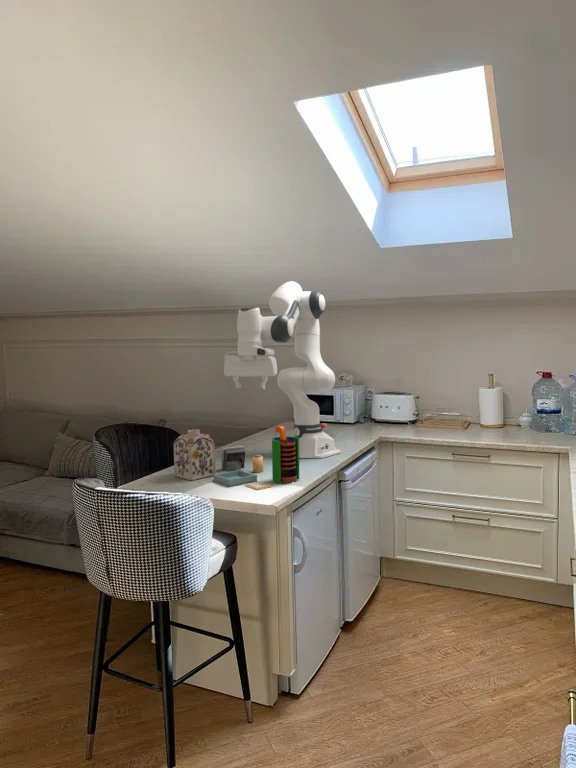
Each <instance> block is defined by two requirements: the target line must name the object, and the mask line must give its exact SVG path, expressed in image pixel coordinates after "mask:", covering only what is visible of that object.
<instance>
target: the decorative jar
mask: <svg viewBox="0 0 576 768" xmlns="http://www.w3.org/2000/svg"><path fill="white" fill-rule="evenodd" d="M215 449H216V448H215V441H214V440H213V439H212V437H211V436H210V434H207V433H201V430H200V429H189V430H187V434H181V435H179V436H178V437H177V438H176V439H175V441H174V442H173V464H174V465H173V467H174V477H175V476H177V478H179V477H180V479H183V480H186V479H187V481H190V480H191V482H192V480H193V481H196V480H201V479H206V478H210V477H214V474H217V473H216V472H217V471H216V450H215Z"/></svg>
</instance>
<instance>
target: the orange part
mask: <svg viewBox="0 0 576 768" xmlns="http://www.w3.org/2000/svg"><path fill="white" fill-rule="evenodd" d="M252 471H253V473H254V472H255V473H254V474H261V472H262V473H264V456H263V455H262V454H254V456H252Z"/></svg>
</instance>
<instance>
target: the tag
mask: <svg viewBox="0 0 576 768" xmlns="http://www.w3.org/2000/svg"><path fill="white" fill-rule="evenodd" d="M244 486H245V487H247V488H250V489H253V490H256V491H259V490H264V489H269V488H272V486H271V485H270V484H267V483H264V482H260V481H257V482H252V483H247V484H244Z"/></svg>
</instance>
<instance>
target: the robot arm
mask: <svg viewBox="0 0 576 768" xmlns="http://www.w3.org/2000/svg"><path fill="white" fill-rule="evenodd" d="M268 304H269V309H270V310H271V312H272V313H273V314H274V315H272V316H270V315H269V316H263V315H262V314H261V310H260V307H258V306H254V305H253V306H252V305H251V306H243V307H241V308H239V310H238V314H237V320H236V321H237V325H236V326H237V327H236V328H237V329H236V330H237V334H238V336H237V337H238V340H237V350H236V351H227V352H226V353H225V354H224V357H223V359H224V360H223V361H224V366H223V375H224V376H225V377H232V380H233V382H234V384H235V389H236V390H241V389H242V388H243V387H242V383H240V381H239V380H240V377H261V378H262V382H261V383H259V390H265V389H266V383H268V380H269V377H275V376H277V378H276V381H277V386H278V388H279V389H280V390H281V391H282V392H284V393H285V394H286V395H287V397H288V398H289V400H290V401H291V403H292V406H293V407H292V408H293V415H294V423H293V435H294V437H298V438H299V459H323V458H326V457H327V458H328V457H331V456H334V455H339V454H341V453H342V452H341V449H339V448H337V447H336V442H335V438H333V437H331V436H330V435H329V434H328V433H327V432H325V431H324V429H327V428H328V425H327V423H320V419H321V418H320V406H319V405H318V403H317V402H316V401H314V400H311V399H310V398H309V397H308V396H307V394H306V393H324V392H330V391H331V390H333V388H334V387H335V384H336V376H335V373H334V371H333V370H332V369H331V368H330V367H329V366H327V365H326V363H325V362H324V360H323V358H322V355H321V346H320V345H321V341H320V340H321V327H320V321H319V319H320V317H321V315H323V314H324V312H325V310H326V299H325V295H324V294H323V293H322V292H321V291H319V290H312V291H309V290H308V291H303V288H302V287H301V285H300V284H299V283H298V282H296V281H292V280H291V281H286V282H285V283H283V284H281V285H280V286H278V288H277V289H275V291H274V292H272V294H271V295H270V297H269V301H268ZM294 330H295V332H294ZM293 335H294V354H295V355H296V357H298V358H299V359H300V360H303V361H305V362H306V363H307V366H305V367H302V366H301V367H287V368H284V369H281V370H280V371H279V373H278V364H277V363H278V362H277V359H276V357H275V350H274V349H273V348H269V347H266V346H263V343H287V342H289V341H290V340H291V339H292V337H293ZM323 428H324V429H323Z"/></svg>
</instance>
